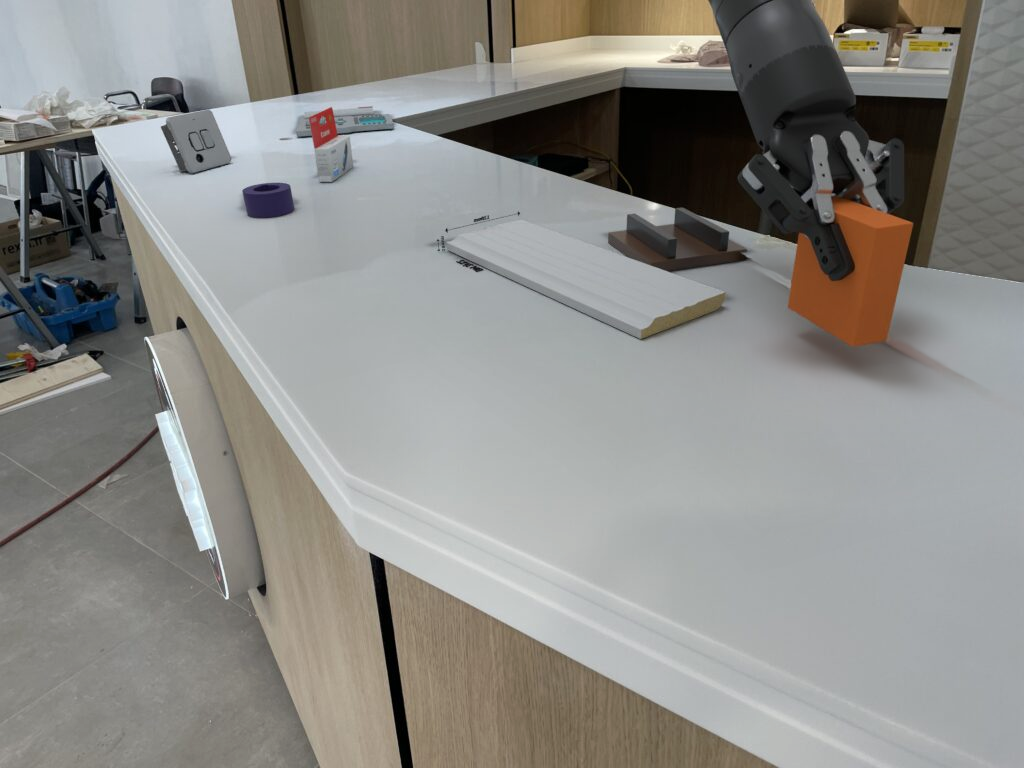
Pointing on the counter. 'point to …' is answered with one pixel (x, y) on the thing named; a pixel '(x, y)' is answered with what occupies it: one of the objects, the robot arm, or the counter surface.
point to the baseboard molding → (587, 276)
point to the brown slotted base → (676, 242)
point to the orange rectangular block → (854, 276)
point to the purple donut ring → (268, 200)
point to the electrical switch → (196, 141)
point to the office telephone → (349, 121)
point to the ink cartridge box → (330, 147)
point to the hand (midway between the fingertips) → (864, 271)
